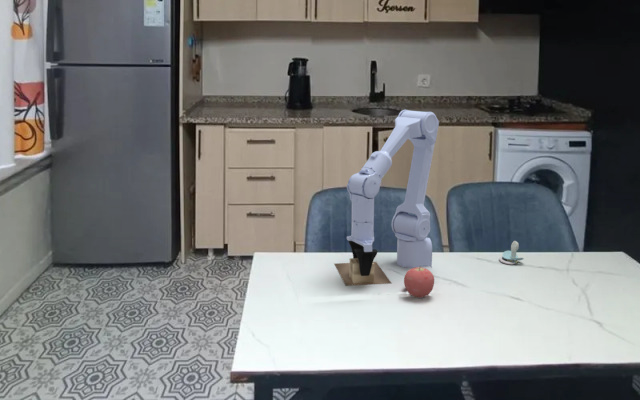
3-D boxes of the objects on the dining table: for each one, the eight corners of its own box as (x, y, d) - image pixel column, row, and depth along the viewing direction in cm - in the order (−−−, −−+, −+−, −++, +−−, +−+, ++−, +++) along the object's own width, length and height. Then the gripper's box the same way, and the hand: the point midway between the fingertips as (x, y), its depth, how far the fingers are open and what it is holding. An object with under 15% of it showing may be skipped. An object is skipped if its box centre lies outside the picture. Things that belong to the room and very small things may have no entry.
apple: (410, 289, 173) (411, 259, 172) (437, 294, 170) (439, 264, 168) (398, 298, 167) (399, 267, 165) (426, 303, 163) (427, 272, 162)
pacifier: (506, 267, 192) (525, 265, 193) (506, 246, 190) (526, 244, 191) (494, 259, 199) (513, 257, 200) (495, 238, 197) (514, 237, 198)
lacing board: (375, 266, 191) (376, 246, 190) (391, 288, 174) (392, 266, 172) (334, 268, 189) (334, 248, 188) (345, 291, 172) (345, 268, 171)
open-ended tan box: (369, 275, 179) (369, 257, 178) (373, 282, 174) (374, 263, 173) (349, 276, 178) (349, 258, 177) (353, 283, 173) (353, 264, 172)
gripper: (342, 213, 179) (341, 262, 182) (352, 228, 165) (352, 280, 168) (368, 212, 180) (367, 261, 183) (380, 226, 166) (379, 279, 169)
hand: (361, 270), depth 176 cm, fingers open, 7 cm apart
